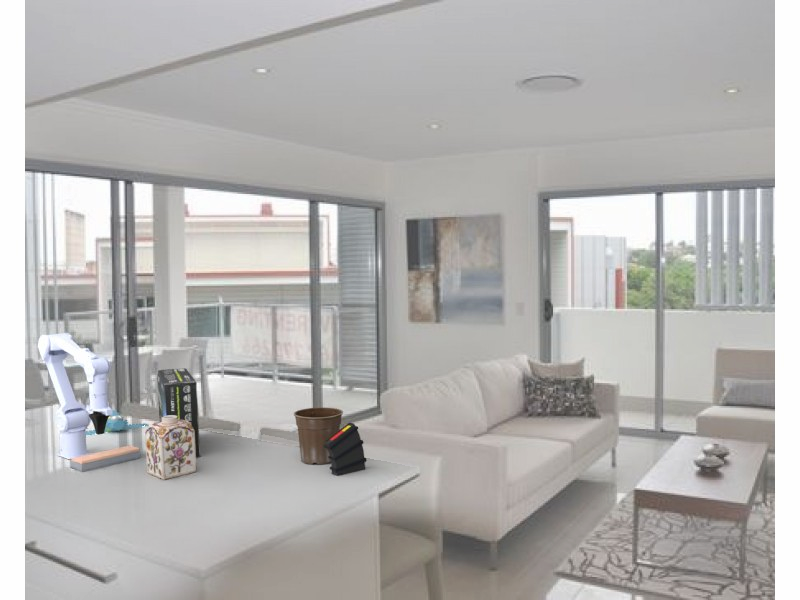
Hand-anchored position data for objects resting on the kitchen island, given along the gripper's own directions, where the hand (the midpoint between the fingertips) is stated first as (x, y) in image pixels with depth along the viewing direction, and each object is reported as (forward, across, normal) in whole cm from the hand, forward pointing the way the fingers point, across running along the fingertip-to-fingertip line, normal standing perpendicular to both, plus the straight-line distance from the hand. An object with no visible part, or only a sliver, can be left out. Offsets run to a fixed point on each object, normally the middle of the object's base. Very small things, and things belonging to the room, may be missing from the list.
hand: (100, 433), depth 238 cm
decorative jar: (+10, +32, +7) cm, 34 cm away
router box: (+10, +6, +26) cm, 28 cm away
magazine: (+10, +77, +40) cm, 87 cm away
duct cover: (+7, +4, 0) cm, 8 cm away
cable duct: (+9, +3, 0) cm, 10 cm away
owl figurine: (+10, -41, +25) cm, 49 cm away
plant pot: (+10, +60, +45) cm, 76 cm away
